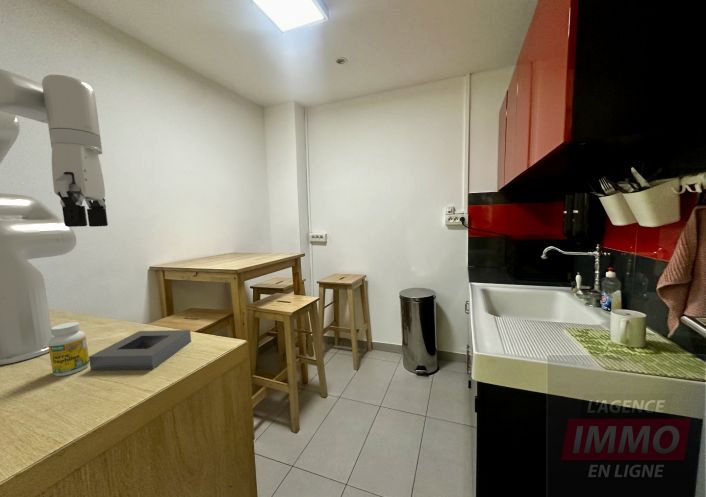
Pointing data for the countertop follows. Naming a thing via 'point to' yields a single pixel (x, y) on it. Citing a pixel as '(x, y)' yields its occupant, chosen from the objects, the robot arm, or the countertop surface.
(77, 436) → the countertop surface
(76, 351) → the supplement bottle
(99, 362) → the square hole block
